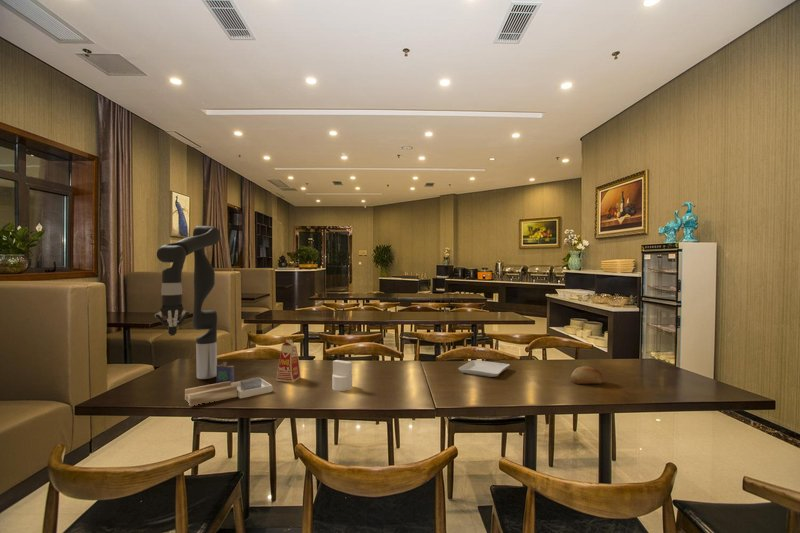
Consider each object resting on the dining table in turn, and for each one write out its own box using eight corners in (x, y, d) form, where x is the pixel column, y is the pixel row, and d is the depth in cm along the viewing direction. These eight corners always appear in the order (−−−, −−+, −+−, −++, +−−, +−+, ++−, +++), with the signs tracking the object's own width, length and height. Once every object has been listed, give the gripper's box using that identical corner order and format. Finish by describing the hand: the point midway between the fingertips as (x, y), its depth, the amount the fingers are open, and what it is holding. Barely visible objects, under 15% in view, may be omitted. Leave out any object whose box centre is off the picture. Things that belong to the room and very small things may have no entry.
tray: (228, 389, 182) (228, 383, 182) (259, 383, 191) (259, 377, 191) (240, 398, 170) (240, 391, 169) (272, 391, 178) (272, 385, 178)
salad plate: (457, 374, 206) (457, 367, 206) (472, 365, 225) (472, 359, 224) (497, 380, 195) (497, 373, 195) (510, 370, 213) (510, 364, 213)
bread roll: (608, 386, 184) (608, 369, 184) (575, 386, 185) (575, 369, 185) (598, 380, 194) (598, 364, 194) (567, 380, 194) (567, 364, 194)
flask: (235, 384, 189) (235, 362, 189) (231, 386, 186) (230, 363, 186) (218, 383, 191) (218, 360, 191) (214, 385, 188) (214, 362, 188)
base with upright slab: (356, 386, 185) (356, 360, 185) (344, 392, 178) (344, 365, 177) (340, 383, 190) (340, 358, 190) (328, 389, 182) (328, 362, 182)
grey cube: (240, 389, 179) (240, 380, 179) (249, 387, 182) (249, 378, 181) (243, 391, 176) (243, 382, 176) (252, 389, 178) (252, 380, 178)
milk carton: (293, 382, 192) (292, 340, 192) (275, 381, 194) (275, 339, 194) (301, 376, 201) (301, 337, 201) (284, 375, 203) (284, 336, 203)
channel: (184, 399, 168) (184, 389, 168) (229, 391, 179) (229, 381, 179) (190, 406, 160) (190, 395, 160) (237, 396, 172) (236, 386, 172)
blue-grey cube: (249, 378, 182) (258, 377, 184) (249, 387, 182) (258, 385, 184) (252, 380, 179) (261, 379, 181) (252, 389, 179) (261, 387, 181)
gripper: (187, 292, 175) (187, 332, 175) (152, 293, 166) (152, 336, 166) (191, 293, 169) (192, 334, 169) (155, 295, 160) (155, 338, 160)
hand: (172, 335), depth 168 cm, fingers closed
